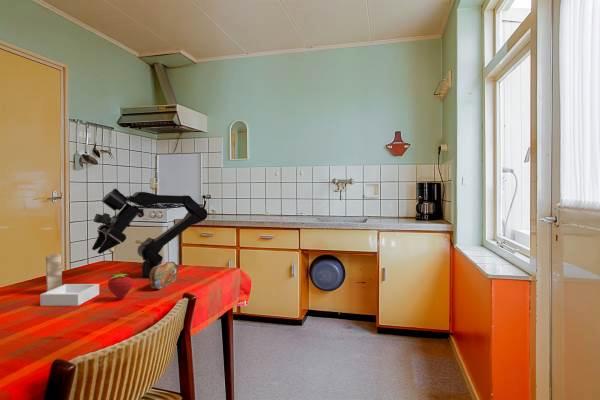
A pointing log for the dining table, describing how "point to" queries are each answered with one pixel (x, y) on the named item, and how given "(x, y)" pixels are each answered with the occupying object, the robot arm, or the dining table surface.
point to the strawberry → (120, 285)
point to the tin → (163, 275)
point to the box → (69, 295)
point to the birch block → (53, 271)
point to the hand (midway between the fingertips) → (95, 251)
